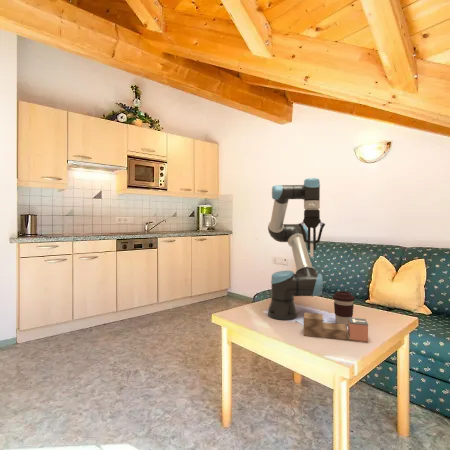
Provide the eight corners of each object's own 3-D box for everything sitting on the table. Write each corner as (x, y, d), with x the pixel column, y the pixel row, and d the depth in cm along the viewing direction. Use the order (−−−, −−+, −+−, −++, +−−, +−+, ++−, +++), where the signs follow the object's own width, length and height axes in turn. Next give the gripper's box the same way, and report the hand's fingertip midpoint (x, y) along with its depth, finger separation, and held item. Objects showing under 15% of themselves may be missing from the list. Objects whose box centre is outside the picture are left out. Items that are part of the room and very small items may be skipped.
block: (368, 324, 121) (368, 341, 121) (365, 319, 128) (365, 335, 128) (349, 322, 123) (349, 339, 123) (348, 317, 130) (348, 333, 130)
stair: (303, 335, 129) (303, 317, 129) (304, 329, 136) (304, 312, 136) (367, 342, 121) (367, 323, 121) (364, 335, 129) (364, 317, 129)
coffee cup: (352, 320, 148) (352, 290, 148) (356, 327, 138) (356, 295, 138) (331, 319, 150) (331, 289, 150) (334, 325, 141) (334, 294, 140)
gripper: (297, 209, 146) (297, 257, 146) (325, 209, 142) (325, 257, 142) (298, 209, 153) (298, 255, 153) (325, 209, 149) (325, 256, 149)
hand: (311, 256), depth 147 cm, fingers closed
